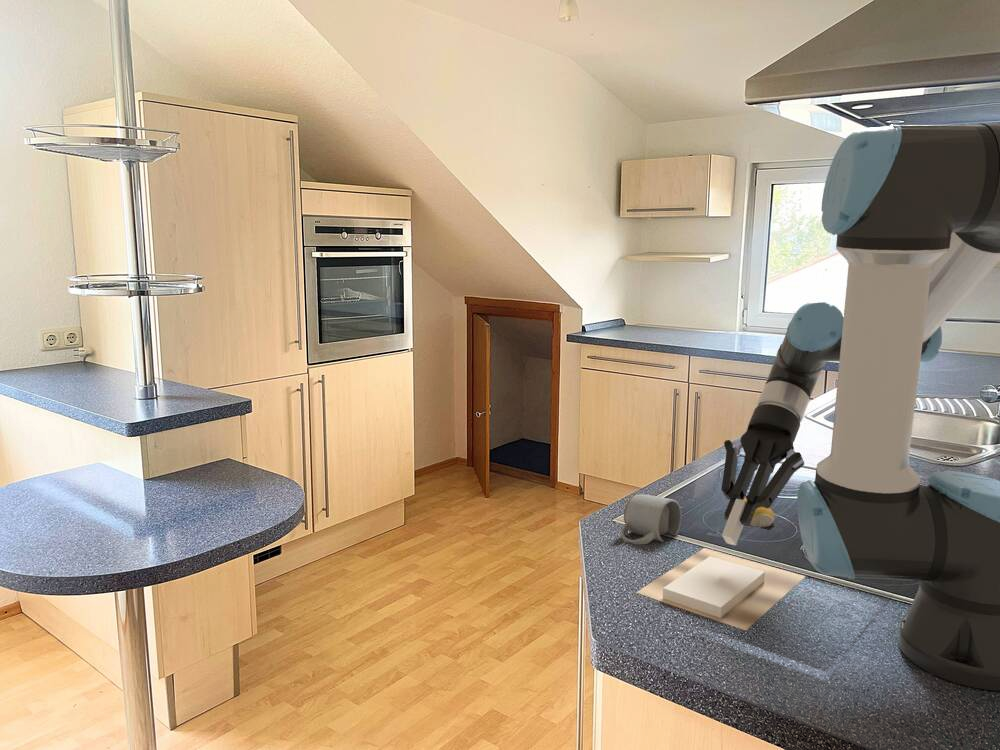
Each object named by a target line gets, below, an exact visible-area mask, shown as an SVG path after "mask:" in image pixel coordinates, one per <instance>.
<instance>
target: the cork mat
mask: <svg viewBox="0 0 1000 750" xmlns="http://www.w3.org/2000/svg"><path fill="white" fill-rule="evenodd" d="M709 556H711V557H715V558H718V559H722V560H725V561H729V562H732V563H736V564H739V565H743V566H746V567H750V568H753V569H757V570H760V571H764V572H765V579H764V582H763V583H762V584H761V585H760V586H759V587H757V588H756V589H755V590H754V591H753V592H751V593H750V594H749V595H748V596H747V597H745V598H744V599H743V600H742V601H740V602H739V603H738V604H737V605H736V606H734V607H733V608H732V609H731V610H730V611H728V612H727V613H726V614H725V615H724V616H722V617H721V618H719V617H716V616H713V615H710V614H707V613H704V612H701V611H698V610H695V609H692V608H690V607H687V606H684V605H681V604H678V603H675V602H672V601H669V600H666V599H663V588H664V587H665V586H667V585H668V584H670V583H671V582H673V581H674V580H676V579H677V578H679V577H680V576H682V575H683V574H684V573H686V572H687V571H689V570H690V569H692V568H693V567H695V566H696V565H698V564H699V563H701V562H702V561H704V560H705V559H707V558H708V557H709ZM804 578H806V575H804V574H803V575H802V574H799V573H796V572H792V571H788V570H785V569H781V568H777V567H776V566H775V567H773V566H770V565H768V564H763V563H759V562H758V561H757V562H756V561H753V560H749V559H745V558H742V557H739V556H735V555H731V554H728V553H725V552H721V551H718V550H712V549H710V548H706V547H703V548H702V549H701V550H699V551H697V552H696V553H694V554H693V555H691V556H690V557H688V558H686V559H685V560H684V561H682V562H680V563H679V564H677V565H676V566H673V568H672V569H670V570H668V571H667V572H665V573H663V574H662V575H661V576H659V577H658V578H656V579H654V580H653V581H651V582H650V583H649V584H646V586H643V587H642V588H641V589H639V590H638V591H636V594H638V595H640V596H644V597H647V598H649V599H652V600H655V601H659V602H661V603H665V604H667V605H670V606H673V607H676V608H680V609H681V610H684V611H687V612H691V613H693V614H697V615H699V616H702V617H705V618H708V619H710V620H714V621H716V622H719V623H723V624H725V625H729V626H732V627H734V628H737V629H740V630H744V631H747V630H749V629H750V628H751V627H752V626H753V625H754V624H755V623H756V622H758V621H759V620H760V619H761V618H762V617H763V616H764V615H765V614H766V613H767V612H769V611H770V609H772V608H773V607H774V606H775V605H776V604H777V603H778V602H779V601H781V600H782V598H784V597H785V596H786V595H787V594H788V593H789V592H790V591H791V590H793V589H794V588H795V586H797V585H798V584H799V583H800V582H801V581H802V580H803V579H804Z"/></svg>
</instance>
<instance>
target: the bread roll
mask: <svg viewBox="0 0 1000 750" xmlns="http://www.w3.org/2000/svg"><path fill="white" fill-rule="evenodd" d="M744 500H745V501H746V502H747V499H746V497H745V498H744ZM775 519H776V515H775V513H774V511H773V510H772V509H771V507H769V508H764V507H759V508H757V509H756V510H755V513H754V516H753V518H752V521H751V523H750V525H749V526H751V527H755V528H758V527H762V528H767V527H770V526H772V525H773V523H774V521H775Z"/></svg>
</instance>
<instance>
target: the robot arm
mask: <svg viewBox="0 0 1000 750" xmlns="http://www.w3.org/2000/svg"><path fill="white" fill-rule="evenodd" d="M821 212H822V215H821V222H822V226H823V230H825V231H826V233H829V234H831V235H832V236H836V245H835V249H836V251H838V253H840V255H841V256H842V257H843V258H844V259H845V260H846V261H847V264H848V265H847V267H848V268H847V269H848V270H847V278H846V287H845V298H844V300H845V301H844V309H843V313H842V311H841V310H840V309H839V308H838V306H836V305H834V304H829V303H827V302H826V301H822V300H819V301H818V300H817V301H816V300H815V301H814V300H813V301H810V302H806V303H804V304H803V305H801V306H800V307H799V308H798V309H797V311H796V312H795V313H794V315H793V316H792V318H791V320H790V321H789V323H788V326H787V328H786V331H785V332H786V333H785V335H784V338H783V341H782V342H781V344H780V346H779V348H778V350H777V352H776V356H775V359H774V361H773V363H772V366H771V369H770V371H769V373H768V374H769V375H768V377H767V380H766V382H765V384H764V386H763V389H762V391H761V393H760V394H759V395H760V396H759V398H758V399H757V402H756V407H755V408H754V410H753V412H752V415H751V418H750V420H749V422H748V424H747V425H748V426H747V428H746V431H745V432H744V433H743V434H742V435H741V437H740V439H737V440H735V441H731V440H730V439H727V440H725V441H724V442H723V445H724V446H723V447H724V449H725V453H726V454H725V460H724V467H723V473H722V475H723V476H722V482H721V491H722V493H723V495H724V497H725V498H726V500H729V502H728V503H727V506H726V508H725V511H724V518H725V519H726V523H725V525H724V528H723V531H722V533H721V537H722V538H723V540H724V541H725V543H726V544H728V545H732V546H737V544H738V541H739V539H740V536H741V533H742V531H743V528H744V526H746V527H749V526H750V523H751V521H752V518H753V516H754V513H755V510H756V509H757V508H759V507H764V508H771V506H772V505H773V504H774V502H775V501H776V499H777V498H778V496H779V495H780V493H781V492H782V491H783V489H784V488H785V487H786V485H787V484H788V483H789V481H790V479H791V478H792V477H793V475H794V474H795V472H797V471H799V469H800V468H802V467H803V466H805V461H804V459H803V456H802V454H801V453H800V452H798V451H795V448H794V442H795V440H796V438H797V435H798V433H799V430H800V427H801V423H802V421H803V419H804V416H805V414H806V411H807V407H808V406H809V402H810V399H811V396H812V394H813V392H814V389H815V387H816V385H817V382H818V379H819V377H820V375H821V374H822V371H823V370H824V368H825V367H826V364H827V362H836V363H837V362H839V363H838V374H837V383H836V393H835V394H836V395H835V396H836V397H835V405H834V416H833V427H832V437H831V448H830V453H829V455H828V456H827V457H825V458H824V459H822V460H821V461H818V463H817V464H816V467H815V478H814V481H813V480H809V479H807V480H806V481H803V482H801V483H800V484H799V486H798V490H797V493H796V494H797V495H796V507H797V508H796V509H797V517H798V524H799V525H798V527H799V531H800V538H801V540H802V545H803V548H804V552H805V553H806V556H807V558H808V560H809V562H810V565H812V567H813V568H814V570H816V571H817V572H819V573H820V574H822V575H826V576H834V577H845V578H848V579H850V580H855V579H876V580H877V579H878V580H895V581H896V580H900V581H919V586H918V590H917V592H916V595H914V598H913V601H912V603H911V606H910V608H909V611H908V612H907V615H906V616H904V618H903V619H902V621H901V623H900V626H899V633H898V647H899V649H900V651H901V652H902V653H903V655H904V656H905V657H906V658H907V659H908V660H909V661H910V662H911V663H914V664H915V666H918V667H920V668H921V669H923V670H924V671H926V672H928V673H930V674H932V675H934V676H936V677H939V678H941V679H943V680H946V681H949V682H952V683H955V684H958V685H962V686H965V687H969V688H970V687H971V688H976V689H980V690H981V689H982V690H987V691H999V692H1000V480H998V479H994V478H990V477H988V476H984V475H983V476H982V475H978V474H974V473H969V472H964V471H956V470H955V471H954V470H939V471H938V470H936V471H933V472H931V474H930V475H929V477H928V478H927V484H928V485H921V477H920V476H919V475H918V473H917V472H916V471H915V470H914V469H913V468H912V467H911V466H910V465H909V460H910V458H909V457H910V451H911V450H910V449H911V443H912V442H911V441H912V435H913V426H914V418H915V410H916V409H915V408H916V399H917V393H918V384H919V383H918V382H919V374H920V368H921V363H928V362H931V361H933V360H934V359H935V358H936V357H938V354H939V350H940V348H941V346H942V342H943V331H942V326H941V325H943V324H944V322H946V320H947V319H948V318H950V316H952V314H953V312H955V310H956V309H957V308H958V307H959V306H960V305H961V304H962V303H963V302H964V301H965V299H967V297H968V296H969V295H970V294H971V293H972V292H973V291H974V289H975V288H977V286H979V284H980V283H981V281H983V280H984V279H985V278H986V277H987V275H988V274H989V273H990V272H991V271H993V270H992V269H993V268H994V267H995V266H996V265H998V263H999V262H1000V123H995V122H994V123H993V122H991V123H988V122H987V123H982V122H981V123H976V124H890V125H887V126H886V125H885V126H884V125H883V126H878V127H877V126H875V127H866V128H864V127H863V128H860V129H857V130H855V131H854V132H853V131H852V132H851V133H850V134H849V135H848V136H846V138H844V139H843V141H842V142H841V144H840V145H839V146H838V148H837V150H836V152H835V154H834V157H833V159H832V161H831V163H830V167H829V169H828V171H827V176H826V180H825V183H824V187H823V192H822V200H821ZM742 449H743V453H744V454H745V455H744V457H743V464H742V466H741V468H740V471H739V473H738V475H737V468H738V461H739V459H738V456H739V455H740V453H741V450H742ZM782 461H783V462H782ZM781 462H782V463H781ZM779 463H781V464H780V466H779V468H778V469H777V471H776V472H775V473H774V469H775V467H776V465H777V464H779ZM755 472H756V473H755ZM773 473H774V475H773V476H772V477H771V475H772V474H773ZM754 475H755V476H754ZM736 476H737V478H736ZM770 477H771V479H770ZM750 485H751V486H750ZM749 487H750V488H749ZM747 493H748V494H747ZM744 498H746V499H747V502H746V501H745V500H744Z"/></svg>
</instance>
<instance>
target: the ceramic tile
mask: <svg viewBox="0 0 1000 750" xmlns="http://www.w3.org/2000/svg"><path fill="white" fill-rule="evenodd" d="M764 579H765V572H764V571H760V570H757V569H753V568H750V567H746V566H743V565H739V564H736V563H732V562H729V561H725V560H722V559H718V558H715V557H711V556H709V557H708V558H707V559H705V560H704V561H702V562H701V563H699V564H698V565H696V566H695V567H693V568H692V569H690V570H689V571H687V572H686V573H684V574H683V575H682V576H680V577H679V578H677V579H676V580H674V581H673V582H671V583H670V584H668V585H667V586H665V587H664V588H663V599H666V600H669V601H672V602H675V603H678V604H681V605H684V606H687V607H690V608H692V609H695V610H698V611H701V612H704V613H707V614H710V615H713V616H716V617H719V618H721V617H722V616H724V615H725V614H726V613H727V612H728V611H730V610H731V609H732V608H733V607H734V606H736V605H737V604H738V603H739V602H740V601H742V600H743V599H744V598H745V597H747V596H748V595H749V594H750V593H751V592H753V591H754V590H755V589H756V588H757V587H759V586H760V585H761V584H762V583H763V582H764Z"/></svg>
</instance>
